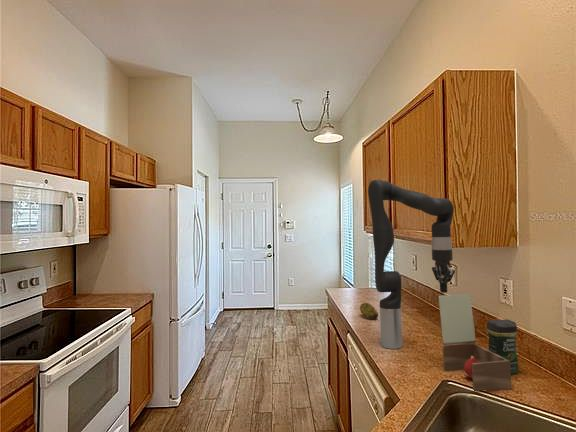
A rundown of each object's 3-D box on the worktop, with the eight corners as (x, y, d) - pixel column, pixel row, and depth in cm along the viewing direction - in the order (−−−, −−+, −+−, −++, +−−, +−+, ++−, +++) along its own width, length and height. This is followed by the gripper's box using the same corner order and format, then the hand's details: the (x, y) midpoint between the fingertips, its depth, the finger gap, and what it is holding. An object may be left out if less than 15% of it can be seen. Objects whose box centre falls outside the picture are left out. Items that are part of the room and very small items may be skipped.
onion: (477, 375, 129) (476, 352, 129) (486, 382, 123) (485, 358, 123) (461, 376, 129) (460, 353, 129) (470, 383, 123) (469, 359, 123)
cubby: (443, 370, 134) (442, 345, 134) (475, 367, 136) (474, 343, 136) (475, 392, 116) (473, 364, 116) (511, 388, 118) (510, 361, 118)
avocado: (365, 321, 203) (364, 306, 203) (358, 315, 215) (358, 301, 216) (379, 320, 203) (379, 306, 203) (372, 314, 216) (372, 301, 216)
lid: (444, 345, 133) (443, 344, 134) (475, 342, 135) (474, 342, 136) (439, 296, 136) (438, 295, 137) (470, 294, 138) (468, 294, 138)
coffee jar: (498, 376, 128) (496, 323, 128) (483, 367, 135) (482, 317, 136) (523, 374, 129) (521, 322, 129) (508, 365, 136) (506, 316, 137)
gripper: (460, 249, 137) (462, 294, 137) (441, 247, 150) (443, 289, 150) (442, 249, 136) (444, 296, 136) (424, 247, 149) (426, 289, 149)
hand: (443, 292), depth 143 cm, fingers closed
